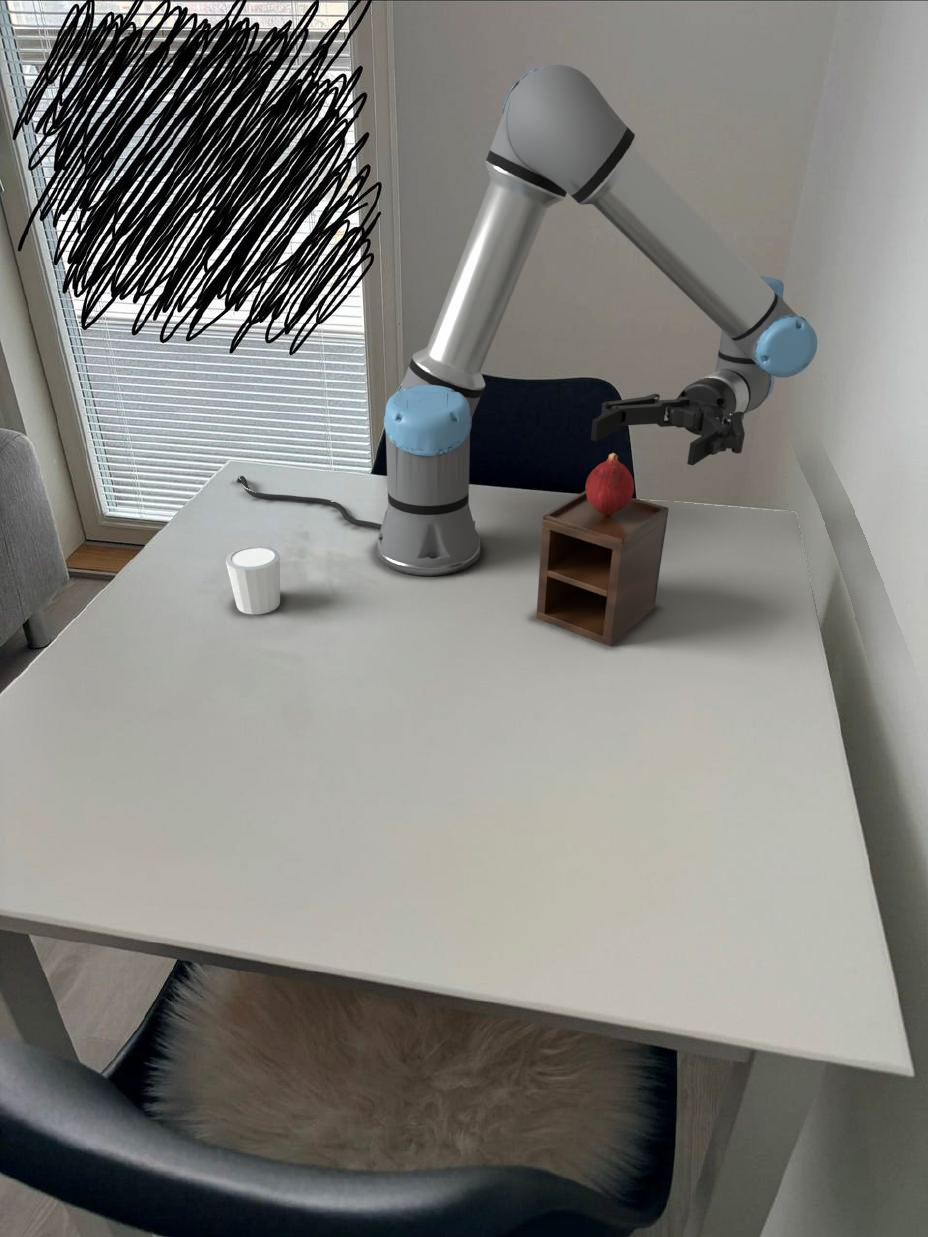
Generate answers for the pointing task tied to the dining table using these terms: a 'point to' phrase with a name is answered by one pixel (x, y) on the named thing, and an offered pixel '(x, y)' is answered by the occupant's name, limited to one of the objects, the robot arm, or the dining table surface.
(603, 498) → the onion
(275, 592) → the shot glass
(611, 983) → the dining table surface
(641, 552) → the box
